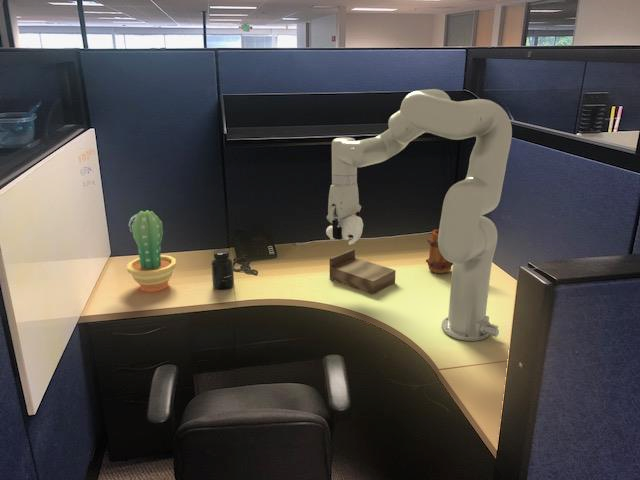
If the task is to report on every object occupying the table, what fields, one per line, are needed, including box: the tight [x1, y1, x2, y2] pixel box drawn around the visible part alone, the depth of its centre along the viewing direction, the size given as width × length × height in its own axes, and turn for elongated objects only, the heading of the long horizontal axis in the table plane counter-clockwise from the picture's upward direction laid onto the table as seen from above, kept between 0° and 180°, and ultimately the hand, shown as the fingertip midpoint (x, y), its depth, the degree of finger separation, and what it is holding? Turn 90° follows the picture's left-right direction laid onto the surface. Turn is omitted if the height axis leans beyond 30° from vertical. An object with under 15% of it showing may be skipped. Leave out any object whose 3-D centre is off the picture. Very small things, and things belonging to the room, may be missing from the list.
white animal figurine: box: [325, 215, 364, 246], centre depth 160 cm, size 6×8×12 cm
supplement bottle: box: [210, 248, 235, 291], centre depth 165 cm, size 7×7×12 cm
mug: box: [425, 229, 453, 274], centre depth 174 cm, size 15×8×15 cm, turn 62°
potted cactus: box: [126, 209, 177, 293], centre depth 164 cm, size 15×15×25 cm
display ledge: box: [329, 248, 397, 295], centre depth 169 cm, size 18×12×8 cm, turn 47°
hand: (344, 235), depth 161 cm, fingers closed on white animal figurine, 6 cm apart
